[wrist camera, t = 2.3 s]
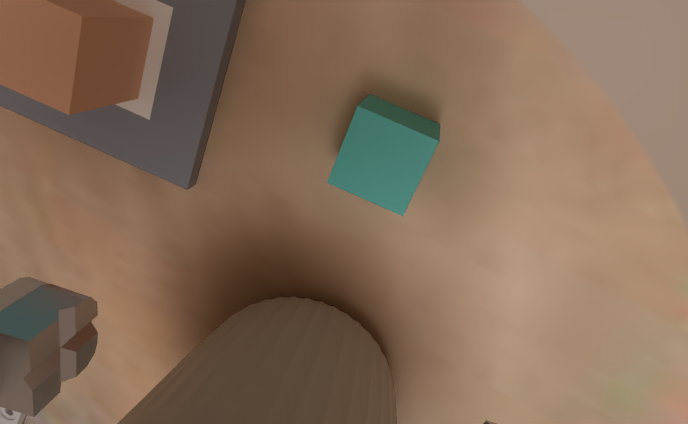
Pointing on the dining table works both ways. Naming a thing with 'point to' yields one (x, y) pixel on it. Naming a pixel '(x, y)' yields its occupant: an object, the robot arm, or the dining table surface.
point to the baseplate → (158, 92)
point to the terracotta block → (73, 52)
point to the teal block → (384, 154)
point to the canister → (277, 372)
